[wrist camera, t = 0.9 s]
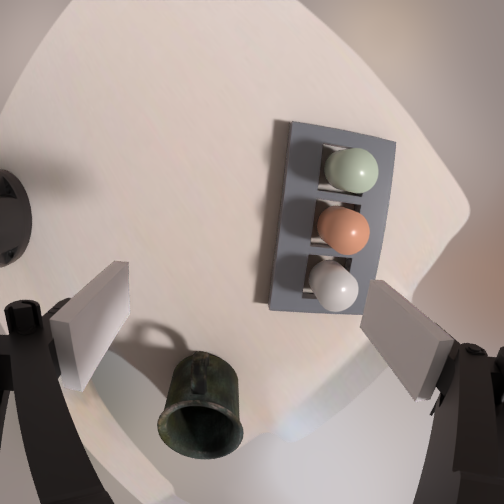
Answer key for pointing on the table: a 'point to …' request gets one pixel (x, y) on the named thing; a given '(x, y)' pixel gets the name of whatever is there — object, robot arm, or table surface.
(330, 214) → the terracotta button
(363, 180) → the sage button
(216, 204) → the table surface
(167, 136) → the table surface
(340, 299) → the grey button
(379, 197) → the button board
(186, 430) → the mug
